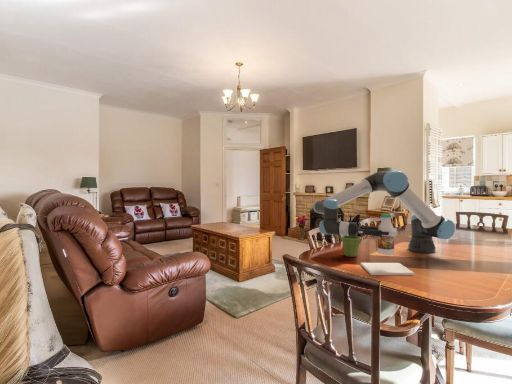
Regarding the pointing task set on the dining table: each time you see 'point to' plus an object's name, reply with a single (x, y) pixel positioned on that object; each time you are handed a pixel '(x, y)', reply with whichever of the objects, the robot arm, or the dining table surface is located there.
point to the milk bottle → (385, 242)
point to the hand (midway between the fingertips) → (396, 232)
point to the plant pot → (350, 245)
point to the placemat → (386, 269)
